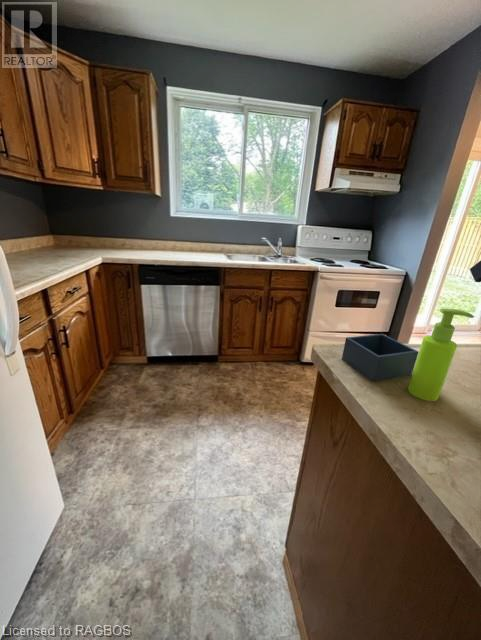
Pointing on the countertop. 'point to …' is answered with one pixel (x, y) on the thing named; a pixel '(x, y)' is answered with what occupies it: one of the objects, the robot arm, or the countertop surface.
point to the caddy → (379, 356)
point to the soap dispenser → (435, 358)
